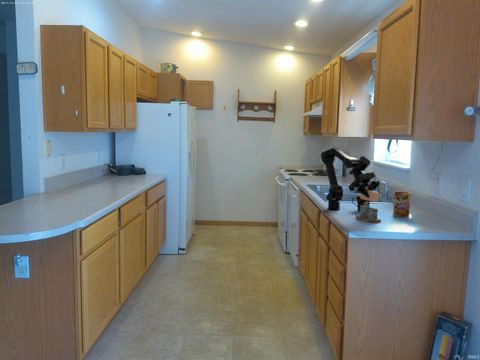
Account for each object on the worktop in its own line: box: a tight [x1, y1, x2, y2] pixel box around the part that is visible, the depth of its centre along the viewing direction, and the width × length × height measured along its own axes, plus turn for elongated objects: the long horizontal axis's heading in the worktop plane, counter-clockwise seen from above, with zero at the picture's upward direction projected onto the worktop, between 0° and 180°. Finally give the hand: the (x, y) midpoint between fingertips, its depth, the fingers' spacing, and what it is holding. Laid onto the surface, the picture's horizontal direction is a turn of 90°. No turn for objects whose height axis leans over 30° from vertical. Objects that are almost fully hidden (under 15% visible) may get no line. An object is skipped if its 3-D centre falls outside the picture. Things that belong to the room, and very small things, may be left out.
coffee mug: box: [351, 193, 371, 212], centre depth 248 cm, size 12×9×10 cm
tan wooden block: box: [359, 190, 380, 203], centre depth 220 cm, size 12×2×6 cm, turn 23°
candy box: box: [392, 190, 412, 219], centre depth 232 cm, size 9×4×15 cm, turn 60°
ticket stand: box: [355, 205, 382, 224], centre depth 221 cm, size 13×7×8 cm, turn 23°
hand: (370, 197), depth 218 cm, fingers closed on tan wooden block, 2 cm apart
